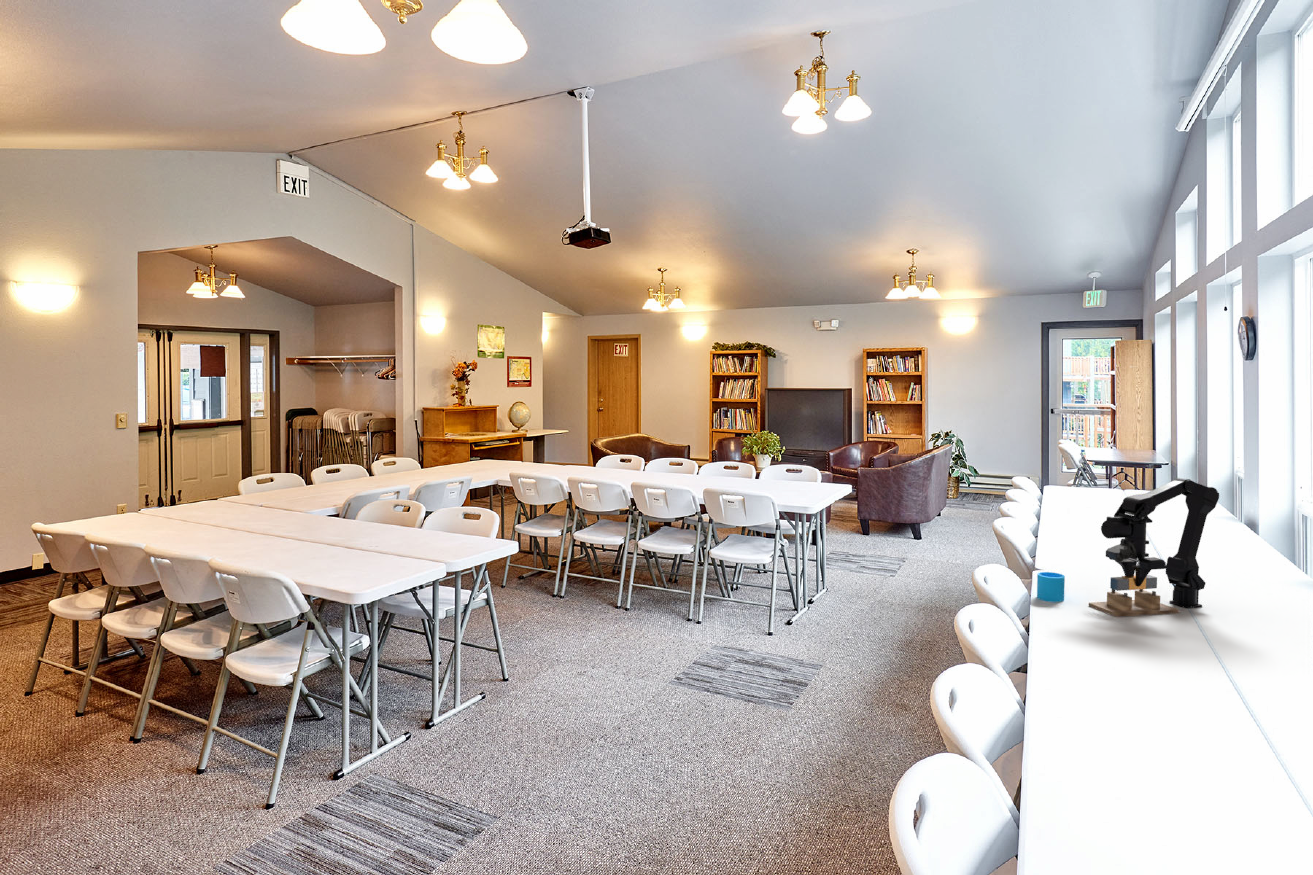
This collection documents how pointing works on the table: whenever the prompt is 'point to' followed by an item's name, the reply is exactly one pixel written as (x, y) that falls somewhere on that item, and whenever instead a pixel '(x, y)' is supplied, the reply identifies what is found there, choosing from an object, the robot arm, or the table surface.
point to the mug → (1050, 586)
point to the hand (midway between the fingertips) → (1133, 584)
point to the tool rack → (1133, 604)
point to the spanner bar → (1132, 583)
